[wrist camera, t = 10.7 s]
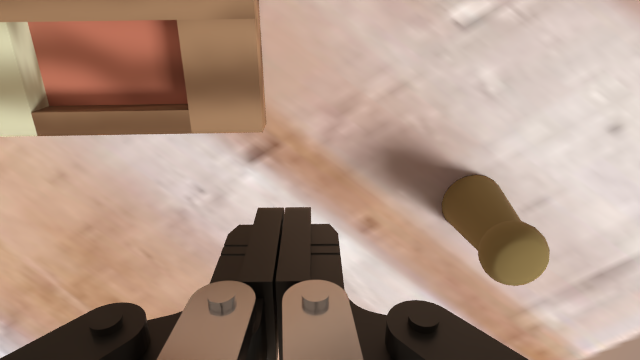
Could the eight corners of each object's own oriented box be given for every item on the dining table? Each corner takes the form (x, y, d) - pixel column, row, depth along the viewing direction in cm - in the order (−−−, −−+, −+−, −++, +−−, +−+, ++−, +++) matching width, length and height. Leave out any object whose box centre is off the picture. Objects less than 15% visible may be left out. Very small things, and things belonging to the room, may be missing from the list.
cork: (435, 185, 41) (476, 244, 31) (496, 166, 40) (558, 220, 30) (448, 236, 43) (490, 307, 33) (506, 219, 43) (567, 285, 32)
